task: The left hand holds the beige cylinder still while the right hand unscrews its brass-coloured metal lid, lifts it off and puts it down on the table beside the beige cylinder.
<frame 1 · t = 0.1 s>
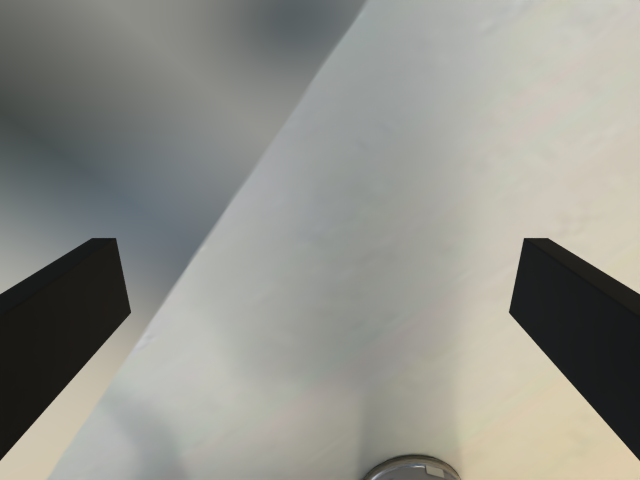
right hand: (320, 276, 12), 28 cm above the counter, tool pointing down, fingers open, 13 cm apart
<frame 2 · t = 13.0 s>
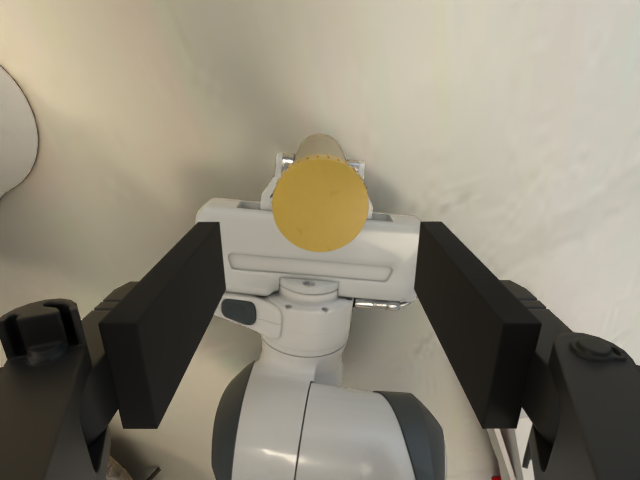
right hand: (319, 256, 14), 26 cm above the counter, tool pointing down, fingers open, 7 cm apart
left hand: (320, 157, 31), fingers closed on beige cylinder, 4 cm apart
fossil: (133, 467, 53), on the counter
beige cylinder: (320, 156, 38), on the counter, touching left hand
toy: (514, 400, 49), on the counter
lid: (320, 205, 20), point 19 cm above the counter, screwed on, not yet turned
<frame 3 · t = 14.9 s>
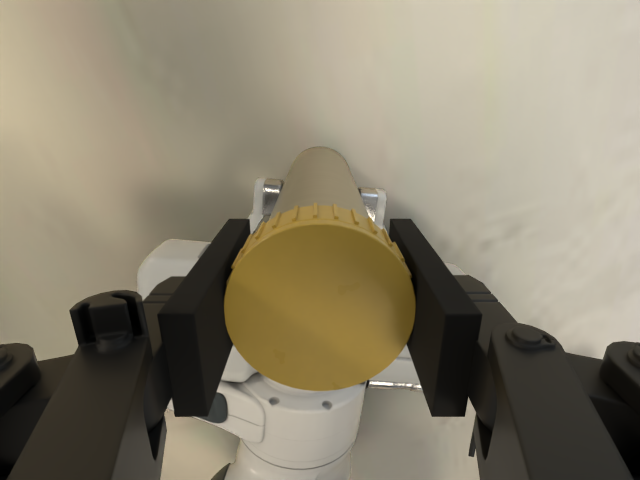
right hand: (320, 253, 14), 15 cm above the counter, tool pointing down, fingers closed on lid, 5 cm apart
beige cylinder: (319, 177, 28), on the counter, touching left hand
lid: (319, 308, 10), point 19 cm above the counter, screwed on, not yet turned, touching right hand
when the right hand's fingers open (15 cm above the counter, at t = 16.2 s): lid stays where it is, point 19 cm above the counter.
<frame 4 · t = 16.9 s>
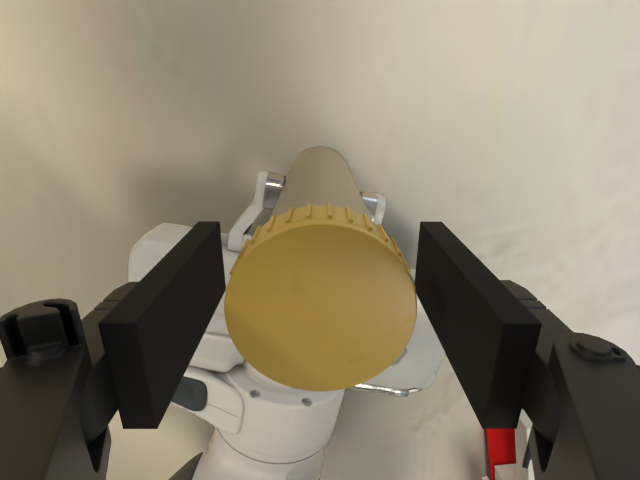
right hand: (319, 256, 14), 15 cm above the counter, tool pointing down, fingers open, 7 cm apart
beige cylinder: (320, 176, 28), on the counter, touching left hand
lid: (320, 308, 10), point 19 cm above the counter, turned 82° so far, risen 0.2 cm, still on its thread
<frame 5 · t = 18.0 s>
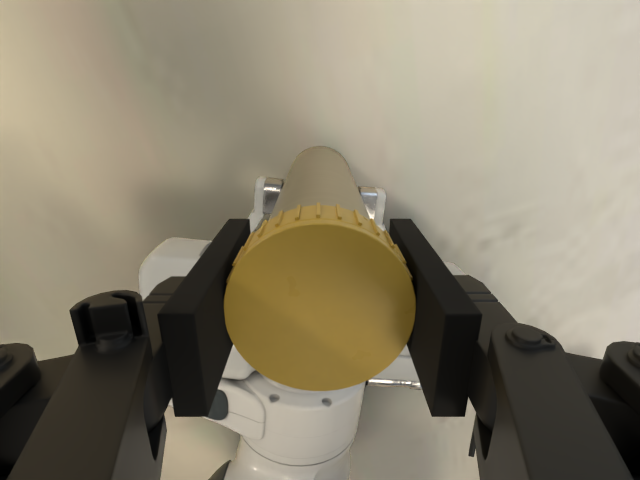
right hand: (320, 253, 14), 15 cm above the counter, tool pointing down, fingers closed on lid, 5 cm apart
beige cylinder: (319, 176, 28), on the counter, touching left hand
lid: (319, 308, 10), point 19 cm above the counter, turned 82° so far, risen 0.2 cm, still on its thread, touching right hand
when the right hand's fingers open (0 cm above the counter, at t = 23.7 s): lid stays where it is, point 1 cm above the counter.
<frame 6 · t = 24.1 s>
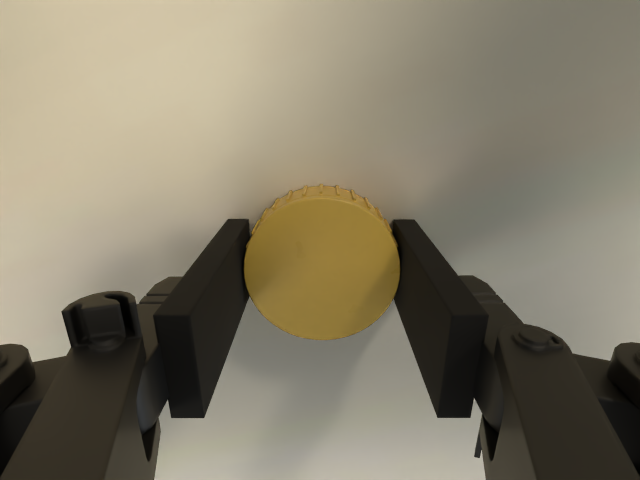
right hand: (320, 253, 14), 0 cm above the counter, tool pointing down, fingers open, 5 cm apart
lid: (321, 269, 13), point 1 cm above the counter, off its thread
when the left hand's fingers open (7 cm above the counter, at t = 25.4 s): beige cylinder stays where it is, on the counter.
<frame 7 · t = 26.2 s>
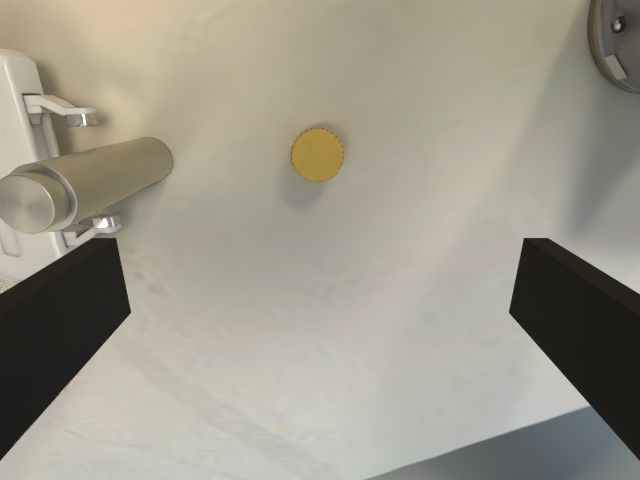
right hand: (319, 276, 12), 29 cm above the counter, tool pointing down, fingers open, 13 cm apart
left hand: (106, 171, 34), fingers open, 8 cm apart
beige cylinder: (152, 159, 40), on the counter
lid: (317, 156, 38), point 1 cm above the counter, off its thread
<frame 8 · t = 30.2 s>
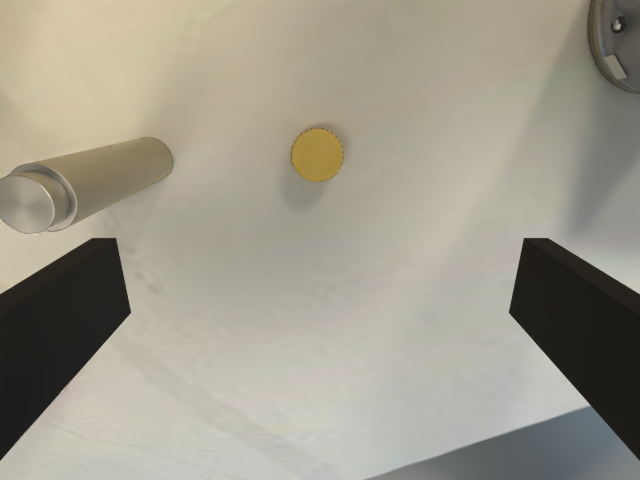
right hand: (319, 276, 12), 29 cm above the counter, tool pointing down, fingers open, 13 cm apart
beige cylinder: (151, 159, 40), on the counter
lid: (317, 156, 38), point 1 cm above the counter, off its thread
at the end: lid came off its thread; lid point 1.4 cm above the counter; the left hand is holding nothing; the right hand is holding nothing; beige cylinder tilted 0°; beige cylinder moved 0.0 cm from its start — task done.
